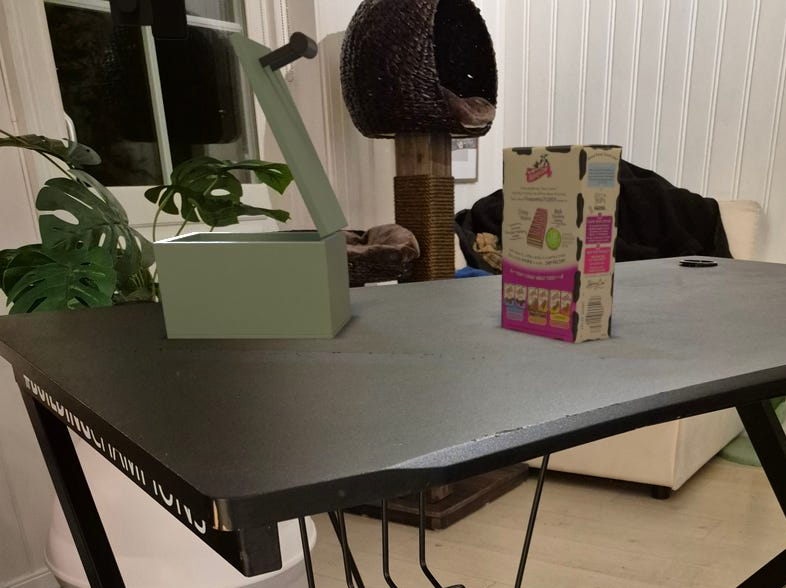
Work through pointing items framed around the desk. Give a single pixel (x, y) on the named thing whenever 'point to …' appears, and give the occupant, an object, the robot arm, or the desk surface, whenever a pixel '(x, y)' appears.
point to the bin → (253, 284)
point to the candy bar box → (559, 240)
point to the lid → (291, 123)
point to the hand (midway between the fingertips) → (153, 32)
